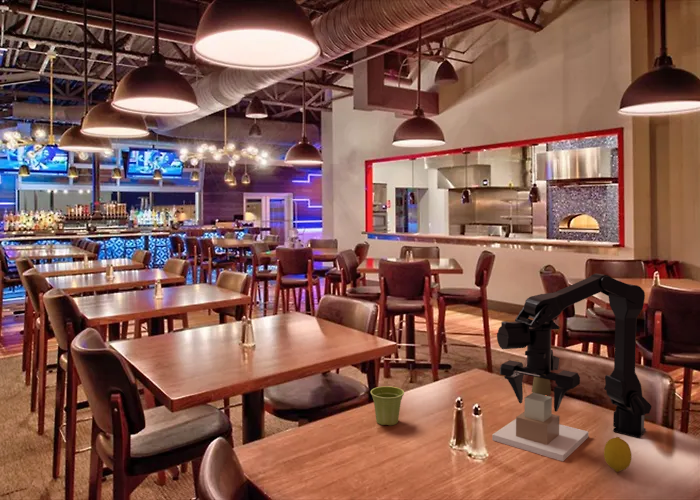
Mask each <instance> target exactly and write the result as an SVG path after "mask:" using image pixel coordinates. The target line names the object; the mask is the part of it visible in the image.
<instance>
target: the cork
mask: <svg viewBox="0 0 700 500" xmlns="http://www.w3.org/2000/svg"><path fill="white" fill-rule="evenodd" d="M551 387H552V386H551V380H549V379H544V378H539V377H534V376H533V382H532V387H531V393H532V392H533V393H537V394H541V395H548V396H551V395H552V389H551ZM550 394H551V395H550Z"/></svg>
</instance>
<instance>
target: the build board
mask: <svg viewBox="0 0 700 500" xmlns="http://www.w3.org/2000/svg"><path fill="white" fill-rule="evenodd" d="M524 412H525V411H523V412H521V413H520V414H518V415H517V416H516V417H515V419H513V420H511V422H509V423H507V424H506V425H504V426H502V427H501V428H500V429H499V430H497V431H495V432H494V433H492V435H491V436H492V439H491V440H492V441H493V442H497V443H500V444H503V445H507V446H510V447H513V448H517V449H520V450H523V451H527V452H530V453H533V454H537V455H541V456H543V457H547V458H550V459H553V460H557V461H559V462H564V461H565V460H566V459H567V458H568V457H569V456H570V455H572V454H573V452H574V451H576V450H578V448H579V447H580V446H581V445H582V444H583V443H584V442H585V441H586V440H587V439H588V438H589V434H590V433H589V431H587V430H584V429H579V428H576V427H573V426H572V427H571V426H568V425H564V424H560V415H558V414H553V413H552V416H551V417H550V418H548V419H547V420H546V421H544V422H542V421H539V420H535V419H531V418H527V417H524Z"/></svg>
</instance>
